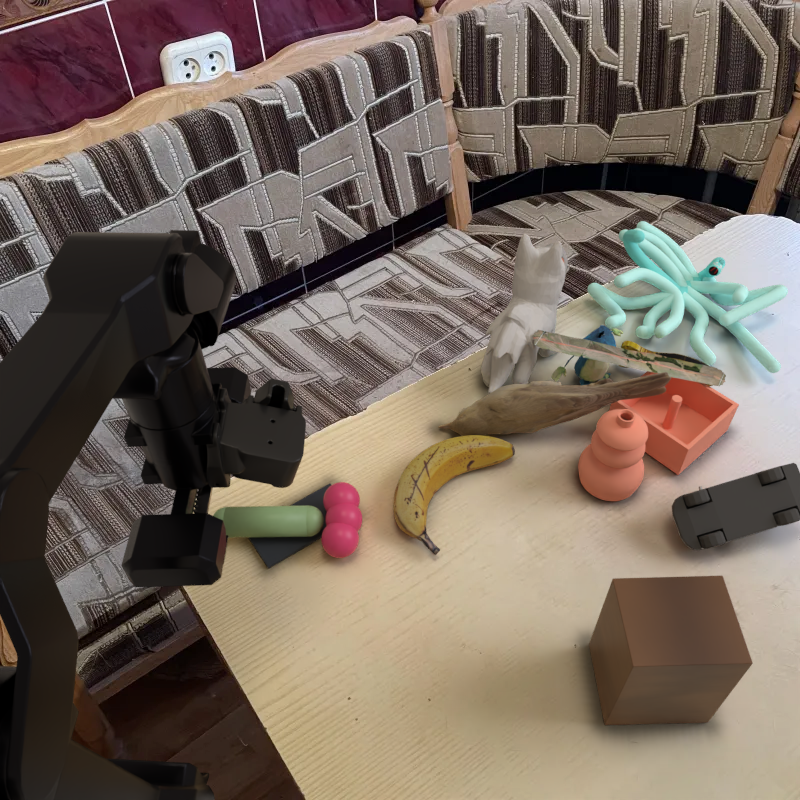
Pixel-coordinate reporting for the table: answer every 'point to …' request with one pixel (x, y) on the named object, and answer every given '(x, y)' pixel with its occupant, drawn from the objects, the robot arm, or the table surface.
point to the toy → (525, 314)
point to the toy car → (738, 507)
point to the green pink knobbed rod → (302, 520)
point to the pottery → (652, 436)
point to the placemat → (284, 547)
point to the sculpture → (547, 404)
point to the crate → (667, 650)
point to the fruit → (441, 477)
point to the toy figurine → (590, 367)
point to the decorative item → (659, 353)
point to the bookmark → (629, 358)
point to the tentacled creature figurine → (684, 295)
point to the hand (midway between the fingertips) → (216, 530)
